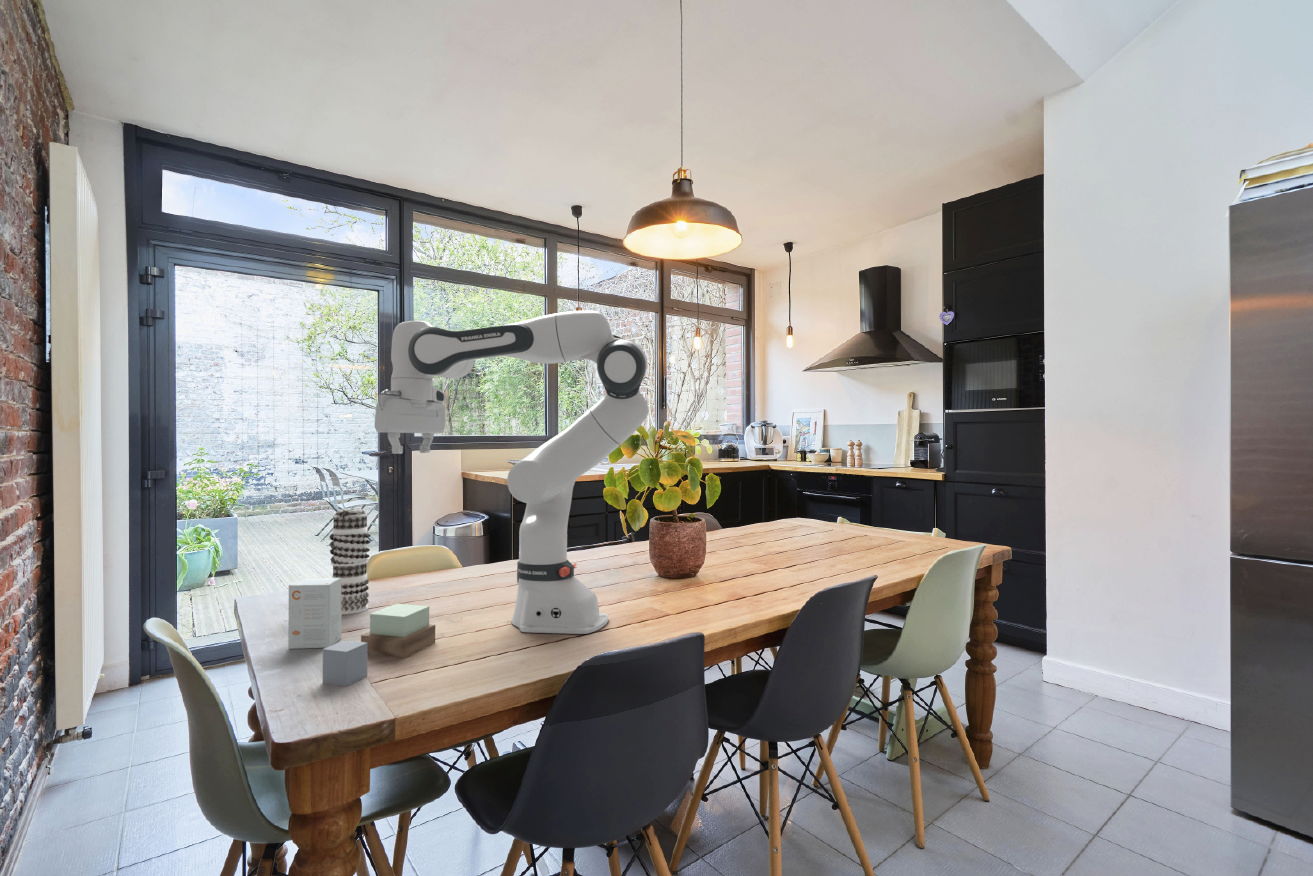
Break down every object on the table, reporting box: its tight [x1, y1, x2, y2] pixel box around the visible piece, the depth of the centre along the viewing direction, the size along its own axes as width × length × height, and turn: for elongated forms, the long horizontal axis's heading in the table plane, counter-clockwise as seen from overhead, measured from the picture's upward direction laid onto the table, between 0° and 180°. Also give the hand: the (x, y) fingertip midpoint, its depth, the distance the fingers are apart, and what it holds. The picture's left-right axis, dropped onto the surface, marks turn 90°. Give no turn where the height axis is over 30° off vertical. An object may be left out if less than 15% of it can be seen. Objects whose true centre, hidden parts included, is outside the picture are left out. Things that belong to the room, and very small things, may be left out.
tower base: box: [360, 623, 436, 659], centre depth 126 cm, size 10×10×4 cm
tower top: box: [369, 603, 430, 637], centre depth 127 cm, size 8×8×4 cm
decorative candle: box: [328, 507, 371, 615], centre depth 153 cm, size 9×9×25 cm
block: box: [322, 639, 368, 687], centre depth 109 cm, size 5×5×6 cm
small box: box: [287, 577, 343, 650], centre depth 128 cm, size 8×6×13 cm
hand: (411, 453), depth 141 cm, fingers open, 8 cm apart
